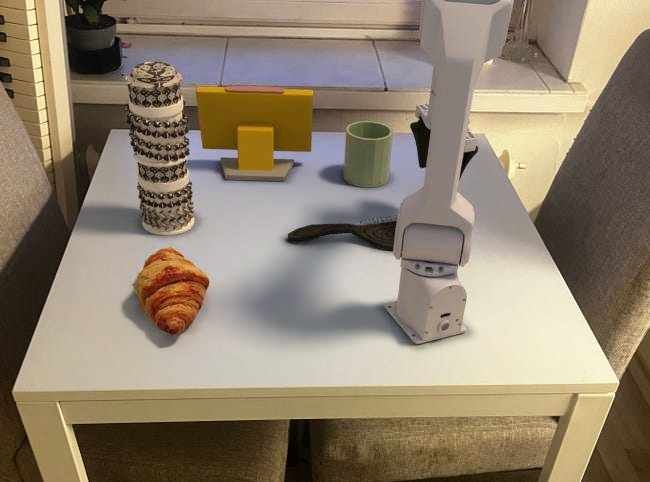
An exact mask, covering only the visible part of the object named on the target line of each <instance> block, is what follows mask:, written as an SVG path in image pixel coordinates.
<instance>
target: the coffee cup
mask: <svg viewBox="0 0 650 482" xmlns="http://www.w3.org/2000/svg"><path fill="white" fill-rule="evenodd" d="M393 137H394V131H393V128H392V127H391V126H389V125H387V124H385V123H383V122H379V121H373V120H362V121H361V120H360V121H355V122H353V123H349V124H348V125H347V126H346V128H345V140H344V156H343V179H344V181H345V182H347V183H348V184H350V185H352V186H355V187H359V188H378V187H381V186H383V185H385V184H386V183H387V182H388V180H389V177H390V168H391V167H390V166H391V158H392V157H391V156H392V147H393V146H392V145H393V139H394V138H393Z"/></svg>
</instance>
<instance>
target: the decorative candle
mask: <svg viewBox="0 0 650 482" xmlns="http://www.w3.org/2000/svg"><path fill="white" fill-rule="evenodd" d="M124 80H125V82H127V90H128V103H126V104H125V105H124V107H125V109H124V114H126V120H125V123H127V124H128V126H129V128H128V129H129V132H128V137H130V143H129V144H130V146H131V147H132V150H133V159H134V160H135V161H136V162H137V170H138V171H137V178H138V179H137V180H138V181H137V186H136V189H137V190H138V197H137V198H138V199H139V200H140V201H139V211H140V218H141V220H142V222H141V223H142V224H141V225H142V227H143V228H144V230H145V231H147V232H148V233H150V234H153V235H158V236H176V235H181V234H183V233H186V232H187V231H189V230H191V229H192V228H193V227H194V225H195V215H194V213H195V210H194V206H193V205H194V203H195V202H194V201H193V200H192V198H193V193H194V191H193V190H192V185H193V182H192V181H191V180H190V171H189V169H188V161H187V159H188V158H189V157H190V154H191V152H190V151H191V149H190V148H189V147H188V146H190V139H189V138H188V137H187V136H186V135H187V134H188V133H189V132H190V126H189V125H187V123H189V116H188V114H186V113H185V112H183V110H184V106H186V105H187V104H186V100H184V96H183V95H182V85H181V81H183V75H182V74H181V73H180V72H178V71H177V70H176V69H175V68H174V67H173V66H172V65H171V64H169V63H167V62H163V61H145V62H140V63H138V64H137V65H134V67H132V69H131V71H130V72H129V74H127V75H125V78H124Z"/></svg>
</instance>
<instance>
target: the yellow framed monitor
mask: <svg viewBox="0 0 650 482" xmlns="http://www.w3.org/2000/svg"><path fill="white" fill-rule="evenodd" d="M195 100H196V107H197V114H198V122H199V123H198V124H199V131H200V132H199V133H200V139H201V148H202V149H203V150H226V151H227V150H228V151H237V157H226V156H225V157H222V156H221V157H220V165H221V168H222V171H223V174H224V178H225V180H226V181H256V182H257V181H258V182H259V181H262V182H285V181H286V179H287V178H288V177H289V174H290V172H291V170H292V168H293V166H294V165H295V159H294V158H274V152H293V153H294V152H298V153H299V152H301V153H311V152H312V140H313V110H314V108H313V107H314V90H312V89H292V88H291V89H289V88H283V87H265V86H236V85H235V86H233V85H232V86H231V85H228V86H226V87H223V86H222V87H221V86H196V87H195Z"/></svg>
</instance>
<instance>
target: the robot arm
mask: <svg viewBox="0 0 650 482" xmlns="http://www.w3.org/2000/svg"><path fill="white" fill-rule="evenodd" d="M514 2H515V1H514V0H421V2H420V12H419V20H420V21H419V31H418V39H419V40H420V43H419V49H420V50H421V51H422V52H423V53H425V54H427V55H428V56H429V57H431V58H432V60H433V67H432V75H431V83H430V91H429V99H428V103H427V102H426V103H418V104H416V105H415V114H414V117H415V118H416V119H418V120H417V121H413V122H411V123H410V124H409V128H410V130H411V134H412V135H413V138H414V141H415V146H416V154H417V161H418V167H419V168H420V169H425V173H424V180H423V186H422V187H421V188H420V189H418V190H415V191H414V192H412V193H410V194H409V195H407V196H405V197H404V198H403V199H402V202H400V204H399V209H398V214H397V219H396V221H397V223H396V231H395V239H394V248H393V251H392V255H393V256H394V257H395V259H396V260H399V261H400V274H399V275H400V276H399V285H398V292H397V300H396V301H390V302H387V303H385V304H384V307H383V308H384V309H385V310H386V311H387V312H388V314H389V315H390V316H391V317H392V318H393V319H394V321H395V322H396V323H397V325H399V327H400V328H401V329H402V330H403V332H404V333H405V334H406V335H407V336H408V337H409V339H410V340H411V341H412V342H413V343H414V344H417V345H420V344H424V343H427V342H431V341H436V340H440V339H444V338H447V337H452V336H455V335H459V334H463V333H466V331H467V328H466V327H465V326H464V324H463V320H464V315H465V309H466V304H467V299H468V294H467V290H466V288H465V287H464V286H463V284H462V283H461V281H460V279H459V275H458V270H459V267H462V268H464V267H465V266H466V265H467V264H468V263H469V260H470V256H471V251H472V245H473V244H472V243H473V237H474V227H475V217H476V216H475V211H474V206H473V205H472V204H471V202H469V201H468V200H467V199H466V198H465V197H464V196H462V195H461V194H460V193H459V191H458V188H459V183H460V181H461V178H462V176H463V174H464V172H465V170H466V167H467V166H468V165H469V163H470V161H471V160H472V159H473V158H474V157H475V156H476V155H477V154H478V152H479V146H478V145H477V141H478V137H476V136H475V135H474V134H473V132H472V130H471V129H470V127H469V125H470V123H471V118H470V116H471V109H472V103H473V97H474V92H475V87H476V84H477V82H478V80H479V77H480V74H481V72H482V70H483V67H484V65H485V64H486V63H488V62H490V61H492V60H494V59H496V58H498V57H501V55H502V51H503V47H504V46H506V43H507V42H506V41H507V36H508V31H509V26H510V22H511V17H512V13H513V7H514Z"/></svg>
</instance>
